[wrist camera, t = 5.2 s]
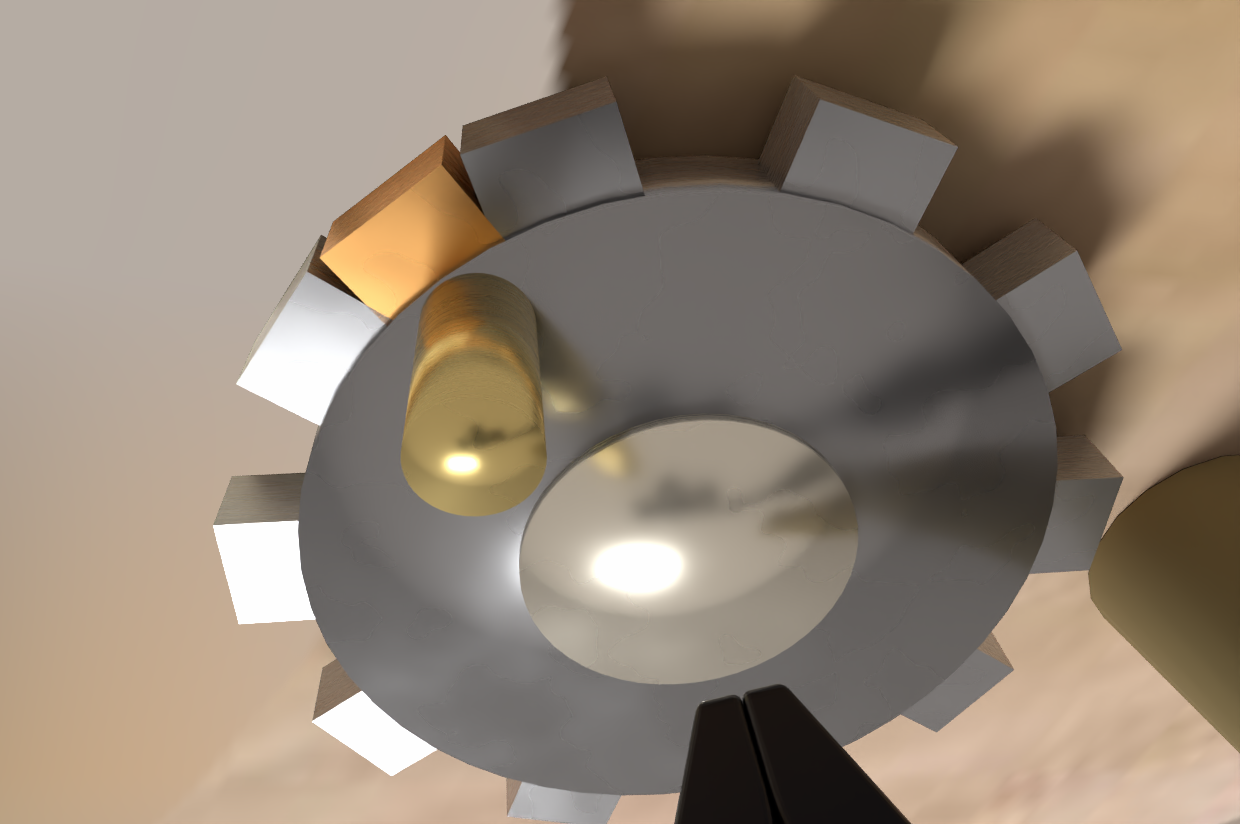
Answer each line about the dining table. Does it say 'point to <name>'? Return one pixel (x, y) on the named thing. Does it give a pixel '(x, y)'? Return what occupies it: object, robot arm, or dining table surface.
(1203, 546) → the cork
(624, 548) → the sprocket
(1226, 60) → the dining table surface
